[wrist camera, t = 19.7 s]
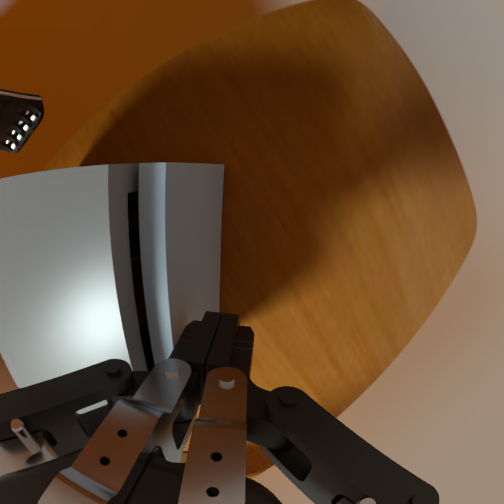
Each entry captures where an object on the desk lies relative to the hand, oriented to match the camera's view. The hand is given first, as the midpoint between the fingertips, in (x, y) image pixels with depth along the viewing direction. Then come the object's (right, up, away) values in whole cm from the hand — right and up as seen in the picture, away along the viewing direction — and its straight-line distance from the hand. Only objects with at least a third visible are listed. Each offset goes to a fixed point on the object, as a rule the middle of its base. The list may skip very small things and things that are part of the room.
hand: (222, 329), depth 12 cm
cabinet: (-8, +4, +9) cm, 13 cm away
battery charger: (-21, +16, +6) cm, 28 cm away
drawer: (-7, +3, +9) cm, 12 cm away
